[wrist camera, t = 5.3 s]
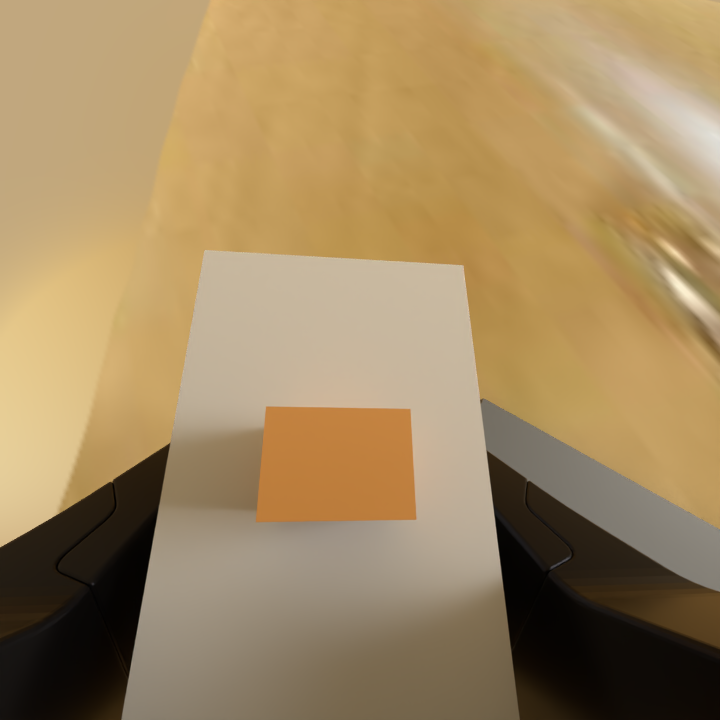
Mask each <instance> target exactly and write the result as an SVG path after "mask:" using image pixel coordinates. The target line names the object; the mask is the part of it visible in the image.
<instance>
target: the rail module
mask: <svg viewBox="0 0 720 720" xmlns="http://www.w3.org/2000/svg"><path fill="white" fill-rule="evenodd" d="M121 720H520V718H519V710H518V702H517V694H516V686H515V678H514V670H513V662H512V654H511V646H510V637H509V629H508V621H507V613H506V605H505V597H504V589H503V581H502V573H501V565H500V557H499V549H498V541H497V533H496V525H495V517H494V509H493V501H492V493H491V485H490V477H489V469H488V461H487V452H486V444H485V436H484V428H483V420H482V412H481V404H480V396H479V388H478V380H477V372H476V364H475V356H474V348H473V340H472V332H471V324H470V316H469V308H468V300H467V292H466V284H465V276H464V267H463V265H448V264H431V263H414V262H397V261H381V260H364V259H347V258H330V257H313V256H296V255H279V254H262V253H246V252H229V251H212V250H205V251H204V257H203V262H202V268H201V274H200V279H199V285H198V290H197V296H196V302H195V307H194V313H193V319H192V324H191V330H190V336H189V341H188V347H187V352H186V358H185V364H184V369H183V375H182V381H181V386H180V392H179V398H178V403H177V409H176V414H175V420H174V426H173V431H172V437H171V443H170V448H169V454H168V460H167V465H166V471H165V476H164V482H163V488H162V493H161V499H160V505H159V510H158V516H157V522H156V527H155V533H154V538H153V544H152V550H151V555H150V561H149V567H148V572H147V578H146V584H145V589H144V595H143V600H142V606H141V612H140V617H139V623H138V629H137V634H136V640H135V646H134V651H133V657H132V662H131V668H130V674H129V679H128V685H127V691H126V696H125V702H124V708H123V713H122V719H121Z"/></svg>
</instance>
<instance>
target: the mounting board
mask: <svg viewBox="0 0 720 720" xmlns="http://www.w3.org/2000/svg"><path fill="white" fill-rule="evenodd" d="M480 404H481V412H482V420H483V428H484V436H485V444H486V450H487V451H489V452H490V453H491V454H493V455H494V456H496V457H497V458H498V459H500V460H501V461H503V462H504V463H506V464H507V465H508V466H510V467H511V468H513V469H514V470H515V471H517V472H518V473H520V474H521V475H522V476H524V477H525V478H527V482H528V481H531V482H533V483H534V484H535V485H537V486H538V487H540V488H541V489H542V490H544V491H545V492H547V493H548V494H550V495H551V496H553V497H554V498H556V499H557V500H559V501H560V502H561V503H563V504H564V505H566V506H567V507H569V508H570V509H572V510H574V511H575V512H577V513H578V514H580V515H582V516H583V517H585V518H586V519H588V520H589V521H591V522H593V523H594V524H596V525H597V526H599V527H601V528H602V529H604V530H606V531H607V532H609V533H610V534H612V535H614V536H615V537H617V538H619V539H620V540H622V541H623V542H625V543H627V544H628V545H630V546H632V547H633V548H635V549H637V550H638V551H640V552H641V553H643V554H645V555H646V556H648V557H650V558H651V559H653V560H654V561H656V562H658V563H659V564H661V565H663V566H664V567H666V568H668V569H669V570H671V571H673V572H675V573H676V574H678V575H680V576H682V577H684V578H686V579H688V580H690V581H692V582H695V583H697V584H700V585H702V586H705V587H707V588H710V589H713V590H716V591H719V592H720V529H718V528H716V527H714V526H712V525H711V524H709V523H707V522H705V521H703V520H702V519H700V518H698V517H696V516H694V515H693V514H691V513H689V512H687V511H685V510H684V509H682V508H680V507H678V506H676V505H675V504H673V503H671V502H669V501H667V500H666V499H664V498H662V497H660V496H658V495H657V494H655V493H653V492H651V491H649V490H648V489H646V488H644V487H642V486H640V485H639V484H637V483H635V482H633V481H631V480H630V479H628V478H626V477H624V476H622V475H621V474H619V473H617V472H615V471H613V470H612V469H610V468H608V467H606V466H604V465H603V464H601V463H599V462H597V461H595V460H594V459H592V458H590V457H588V456H586V455H585V454H583V453H581V452H579V451H577V450H576V449H574V448H572V447H570V446H568V445H567V444H565V443H563V442H561V441H559V440H558V439H556V438H554V437H552V436H550V435H549V434H547V433H545V432H543V431H541V430H540V429H538V428H536V427H534V426H532V425H531V424H529V423H527V422H525V421H523V420H522V419H520V418H518V417H516V416H514V415H513V414H511V413H509V412H507V411H505V410H504V409H502V408H500V407H498V406H496V405H495V404H493V403H491V402H489V401H487V400H486V399H484V398H483V399H482V400H480Z"/></svg>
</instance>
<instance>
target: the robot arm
mask: <svg viewBox="0 0 720 720" xmlns="http://www.w3.org/2000/svg"><path fill="white" fill-rule="evenodd" d="M169 448H170V443H169V444H168V445H166V446H165V447H163V448H162V449H160V450H159V451H157V452H155V453H154V454H152V455H151V456H149V457H148V458H146V459H145V460H143V461H142V462H140V463H138V464H137V465H135V466H134V467H132V468H131V469H129V470H128V471H126V472H125V473H123V474H121V475H120V476H118V477H117V478H115V479H114V480H113V483H112V482H109V483H107V484H106V485H104V486H103V487H101V488H100V489H98V490H96V491H95V492H93V493H92V494H90V495H89V496H87V497H85V498H84V499H82V500H81V501H79V502H77V503H76V504H74V505H73V506H71V507H69V508H68V509H66V510H65V511H63V512H61V513H60V514H58V515H56V516H54V517H53V518H51V519H49V520H48V521H46V522H44V523H43V524H41V525H39V526H37V527H35V528H34V529H32V530H30V531H29V532H27V533H25V534H23V535H22V536H20V537H18V538H16V539H14V540H13V541H11V542H9V543H7V544H6V545H4V546H2V547H0V720H121V719H122V713H123V708H124V702H125V696H126V691H127V685H128V679H129V674H130V668H131V662H132V657H133V651H134V646H135V640H136V634H137V629H138V623H139V617H140V612H141V606H142V600H143V595H144V589H145V584H146V578H147V572H148V567H149V561H150V555H151V550H152V544H153V538H154V533H155V527H156V522H157V516H158V510H159V505H160V499H161V493H162V488H163V482H164V476H165V471H166V465H167V460H168V454H169ZM486 452H487V461H488V469H489V477H490V485H491V493H492V501H493V509H494V517H495V525H496V533H497V541H498V549H499V557H500V565H501V573H502V581H503V589H504V597H505V605H506V613H507V621H508V629H509V637H510V646H511V654H512V662H513V670H514V678H515V686H516V694H517V702H518V710H519V718H520V720H720V592H719V591H716V590H713V589H710V588H707V587H705V586H702V585H700V584H697V583H695V582H692V581H690V580H688V579H686V578H684V577H682V576H680V575H678V574H676V573H675V572H673V571H671V570H669V569H668V568H666V567H664V566H663V565H661V564H659V563H658V562H656V561H654V560H653V559H651V558H650V557H648V556H646V555H645V554H643V553H641V552H640V551H638V550H637V549H635V548H633V547H632V546H630V545H628V544H627V543H625V542H623V541H622V540H620V539H619V538H617V537H615V536H614V535H612V534H610V533H609V532H607V531H606V530H604V529H602V528H601V527H599V526H597V525H596V524H594V523H593V522H591V521H589V520H588V519H586V518H585V517H583V516H582V515H580V514H578V513H577V512H575V511H574V510H572V509H570V508H569V507H567V506H566V505H564V504H563V503H561V502H560V501H559V500H557V499H556V498H554V497H553V496H551V495H550V494H548V493H547V492H545V491H544V490H542V489H541V488H540V487H538V486H537V485H535V484H534V483H533V482H531V481H528V482H527V478H525V477H524V476H522V475H521V474H520V473H518V472H517V471H515V470H514V469H513V468H511V467H510V466H508V465H507V464H506V463H504V462H503V461H501V460H500V459H498V458H497V457H496V456H494V455H493V454H491V453H490V452H489V451H487V450H486Z"/></svg>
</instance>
